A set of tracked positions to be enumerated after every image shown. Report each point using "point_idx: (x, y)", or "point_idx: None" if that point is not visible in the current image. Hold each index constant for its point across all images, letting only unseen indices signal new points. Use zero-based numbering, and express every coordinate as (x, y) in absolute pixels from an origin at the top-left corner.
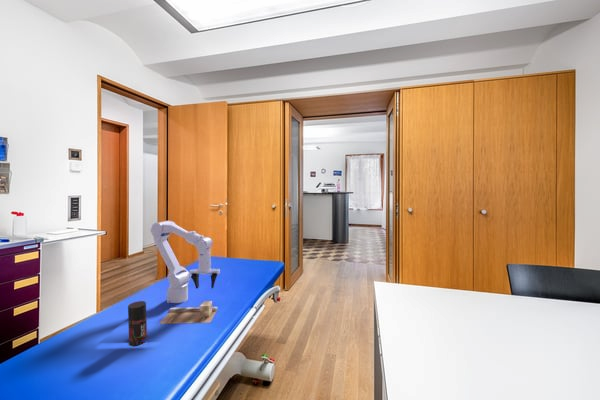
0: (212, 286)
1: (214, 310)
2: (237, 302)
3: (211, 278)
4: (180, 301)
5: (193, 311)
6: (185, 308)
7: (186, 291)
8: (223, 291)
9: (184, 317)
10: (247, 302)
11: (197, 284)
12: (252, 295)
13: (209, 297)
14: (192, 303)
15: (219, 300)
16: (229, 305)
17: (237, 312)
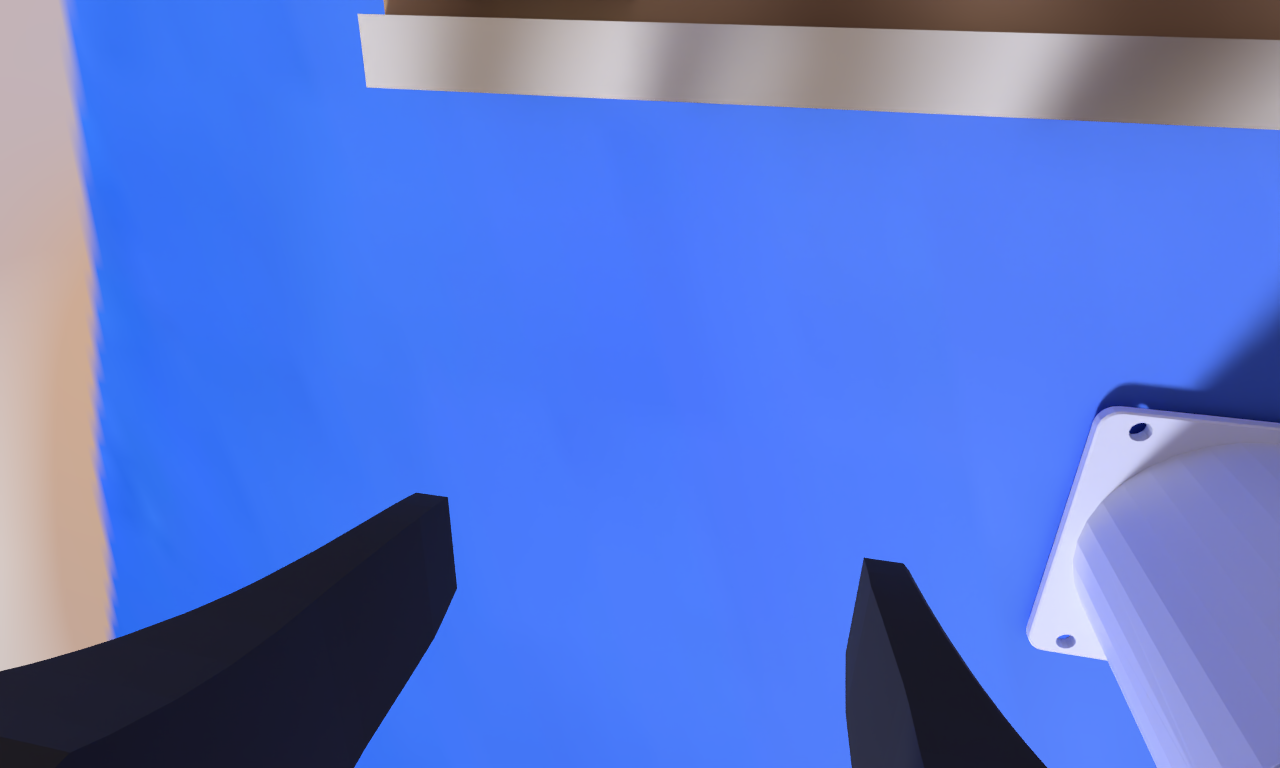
0: (381, 514)
1: (424, 14)
2: (236, 389)
3: (163, 693)
4: (1241, 477)
5: (865, 15)
6: (1080, 62)
7: (1180, 677)
8: (553, 747)
9: None
10: (99, 366)
11: (873, 676)
12: (126, 556)
13: (712, 623)
14: (967, 478)
15: (525, 499)
16: (315, 309)
17: (95, 39)
